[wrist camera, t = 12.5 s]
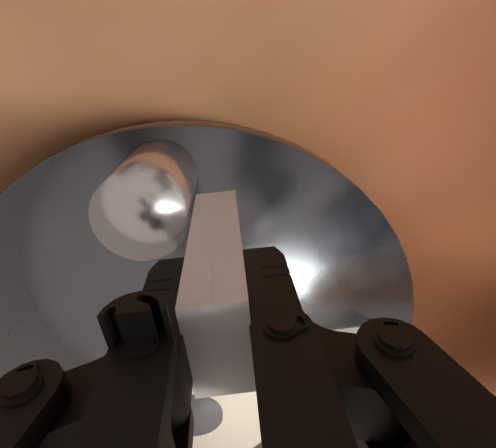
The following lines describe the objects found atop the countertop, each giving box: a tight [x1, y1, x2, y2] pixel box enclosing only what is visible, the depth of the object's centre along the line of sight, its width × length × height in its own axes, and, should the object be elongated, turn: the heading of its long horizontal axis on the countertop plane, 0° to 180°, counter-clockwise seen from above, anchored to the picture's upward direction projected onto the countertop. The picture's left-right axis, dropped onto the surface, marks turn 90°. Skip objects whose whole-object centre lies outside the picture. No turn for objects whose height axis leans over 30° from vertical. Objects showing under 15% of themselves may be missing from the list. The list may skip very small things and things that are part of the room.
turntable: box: [0, 120, 413, 448], centre depth 18 cm, size 26×26×7 cm
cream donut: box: [191, 387, 261, 448], centre depth 18 cm, size 9×9×4 cm
